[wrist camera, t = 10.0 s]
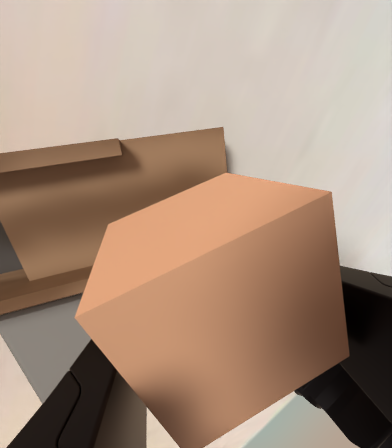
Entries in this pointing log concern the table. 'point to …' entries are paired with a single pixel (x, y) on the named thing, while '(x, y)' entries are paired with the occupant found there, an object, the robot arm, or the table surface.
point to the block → (219, 301)
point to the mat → (45, 341)
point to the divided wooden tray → (86, 204)
